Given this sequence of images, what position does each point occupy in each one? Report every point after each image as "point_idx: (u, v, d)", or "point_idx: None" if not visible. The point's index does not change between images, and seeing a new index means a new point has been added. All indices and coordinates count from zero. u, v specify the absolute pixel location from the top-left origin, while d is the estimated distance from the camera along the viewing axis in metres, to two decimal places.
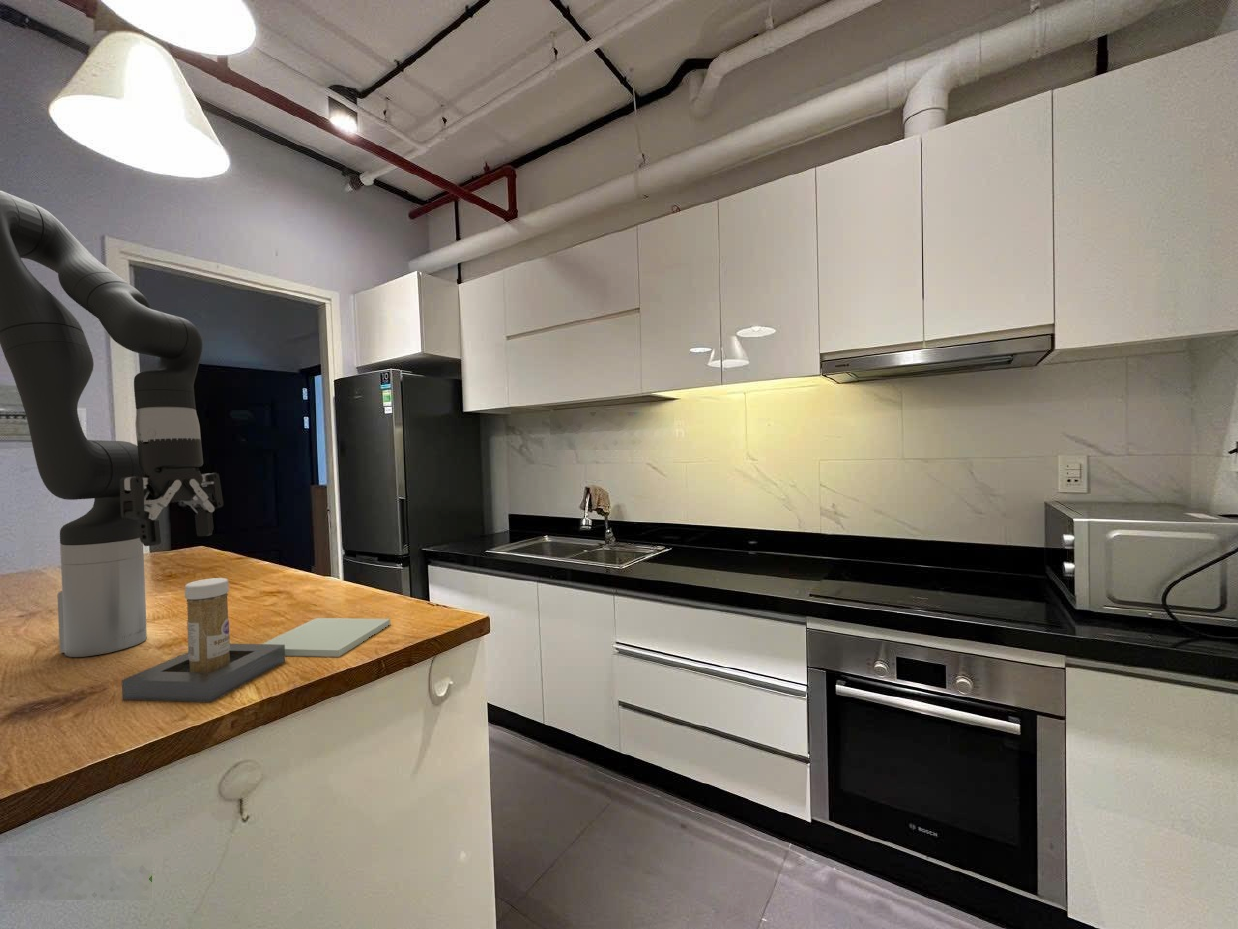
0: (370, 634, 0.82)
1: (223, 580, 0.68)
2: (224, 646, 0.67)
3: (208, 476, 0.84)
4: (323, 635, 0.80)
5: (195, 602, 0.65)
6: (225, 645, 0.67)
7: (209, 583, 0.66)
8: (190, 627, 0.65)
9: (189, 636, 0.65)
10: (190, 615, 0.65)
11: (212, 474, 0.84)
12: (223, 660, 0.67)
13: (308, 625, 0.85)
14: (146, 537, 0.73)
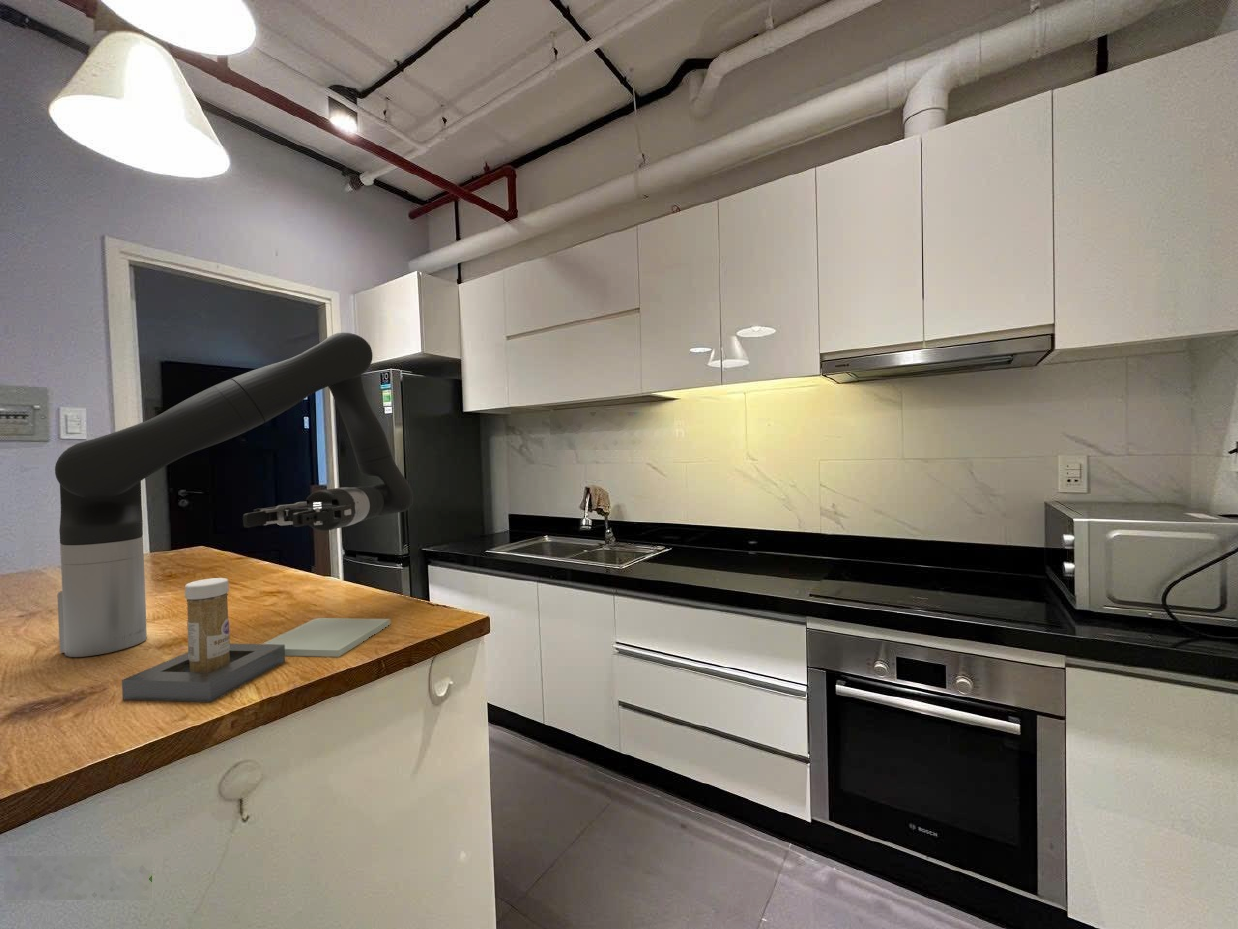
0: (370, 634, 0.82)
1: (223, 580, 0.68)
2: (224, 646, 0.67)
3: None
4: (323, 635, 0.80)
5: (195, 602, 0.65)
6: (225, 645, 0.67)
7: (209, 583, 0.66)
8: (190, 627, 0.65)
9: (189, 636, 0.65)
10: (190, 615, 0.65)
11: (285, 517, 0.89)
12: (223, 660, 0.67)
13: (308, 625, 0.85)
14: (307, 520, 0.79)
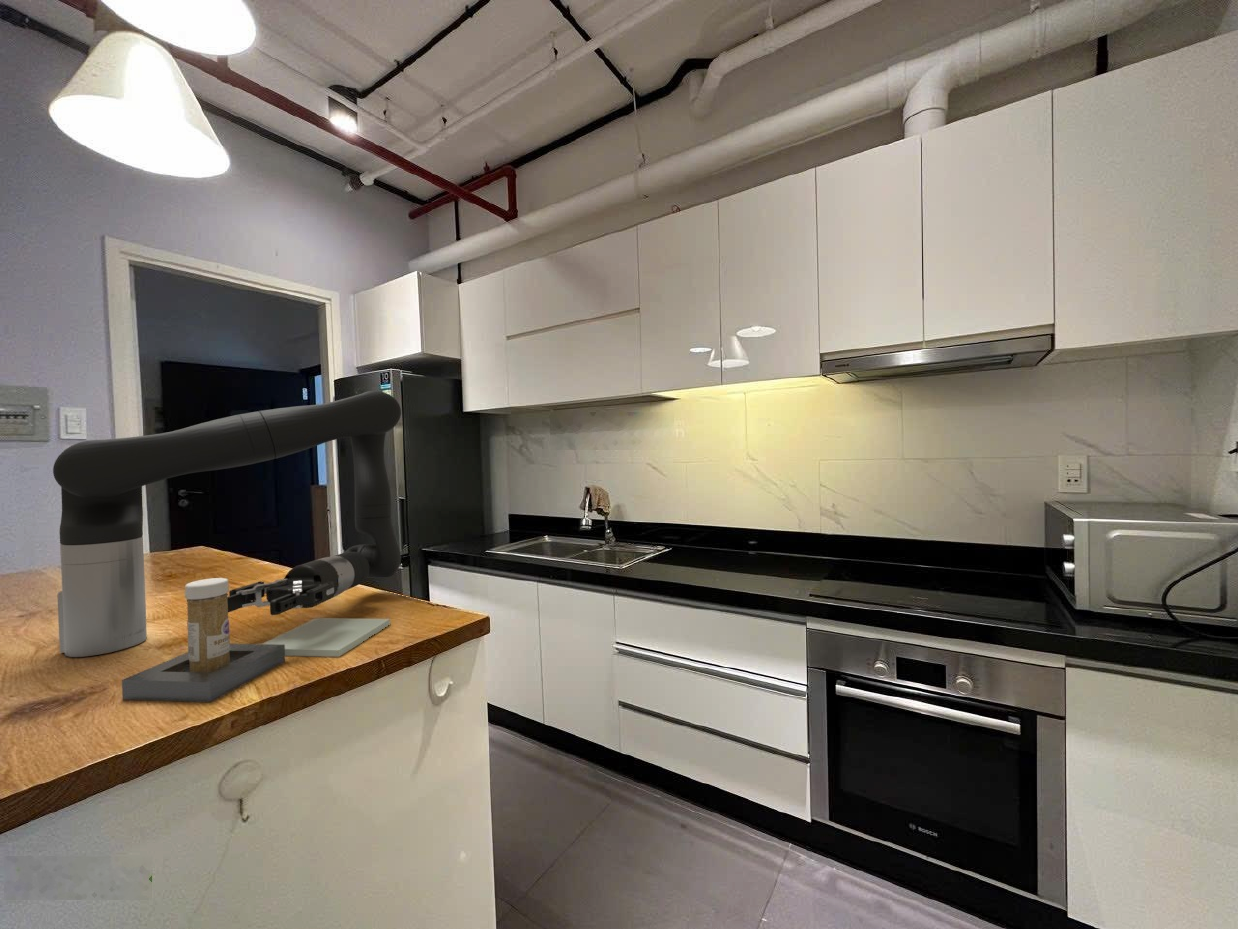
0: (370, 634, 0.82)
1: (223, 580, 0.68)
2: (225, 646, 0.67)
3: None
4: (323, 635, 0.80)
5: (195, 602, 0.65)
6: (225, 645, 0.67)
7: (209, 583, 0.66)
8: (190, 627, 0.65)
9: (189, 636, 0.65)
10: (190, 615, 0.65)
11: (264, 594, 0.84)
12: (223, 660, 0.67)
13: (308, 625, 0.85)
14: (285, 607, 0.74)
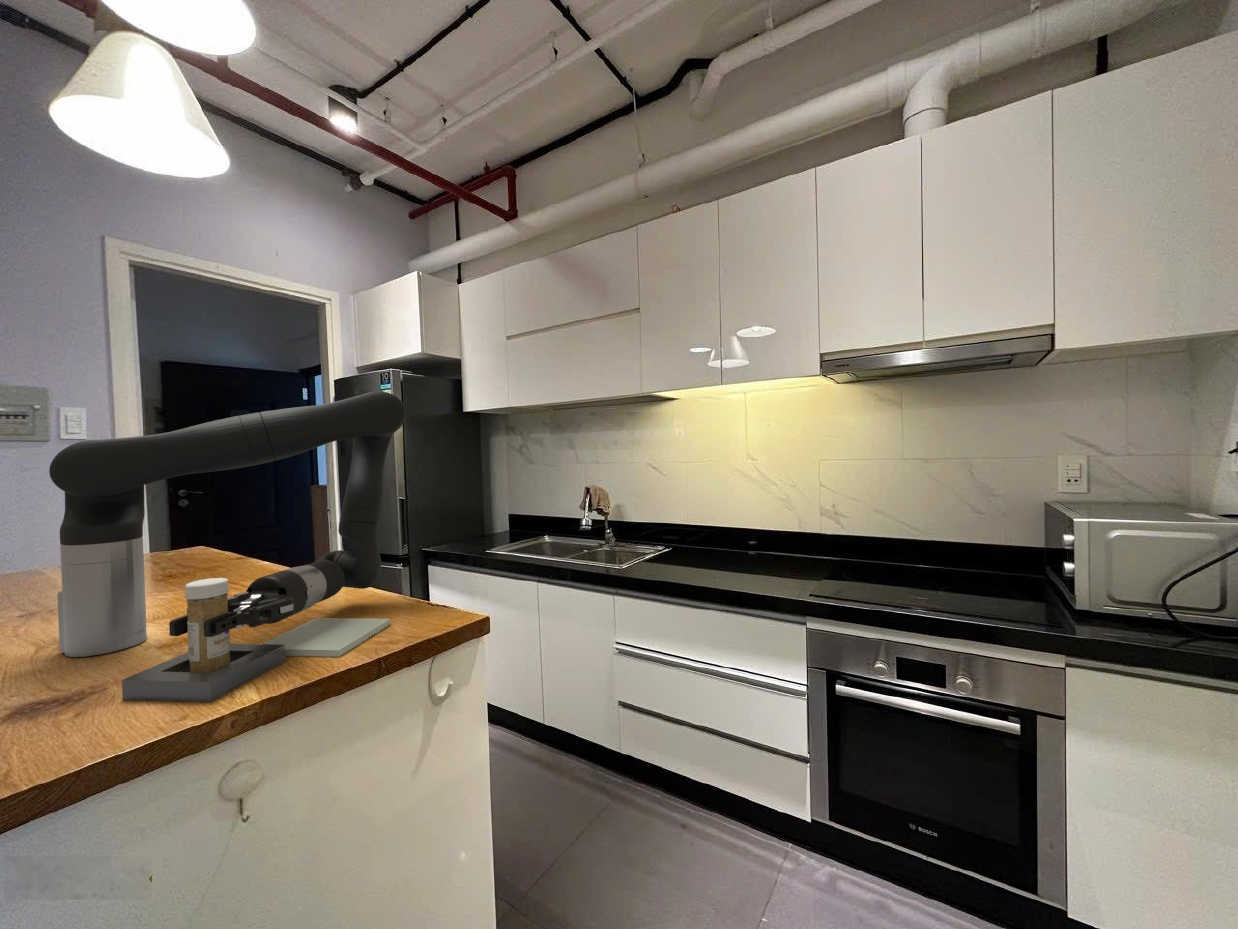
0: (370, 634, 0.82)
1: (223, 580, 0.68)
2: (225, 646, 0.67)
3: None
4: (323, 635, 0.80)
5: (195, 602, 0.65)
6: (225, 645, 0.67)
7: (209, 583, 0.66)
8: (190, 627, 0.65)
9: (189, 636, 0.65)
10: (190, 615, 0.65)
11: None
12: (223, 660, 0.67)
13: (308, 625, 0.85)
14: (222, 628, 0.65)
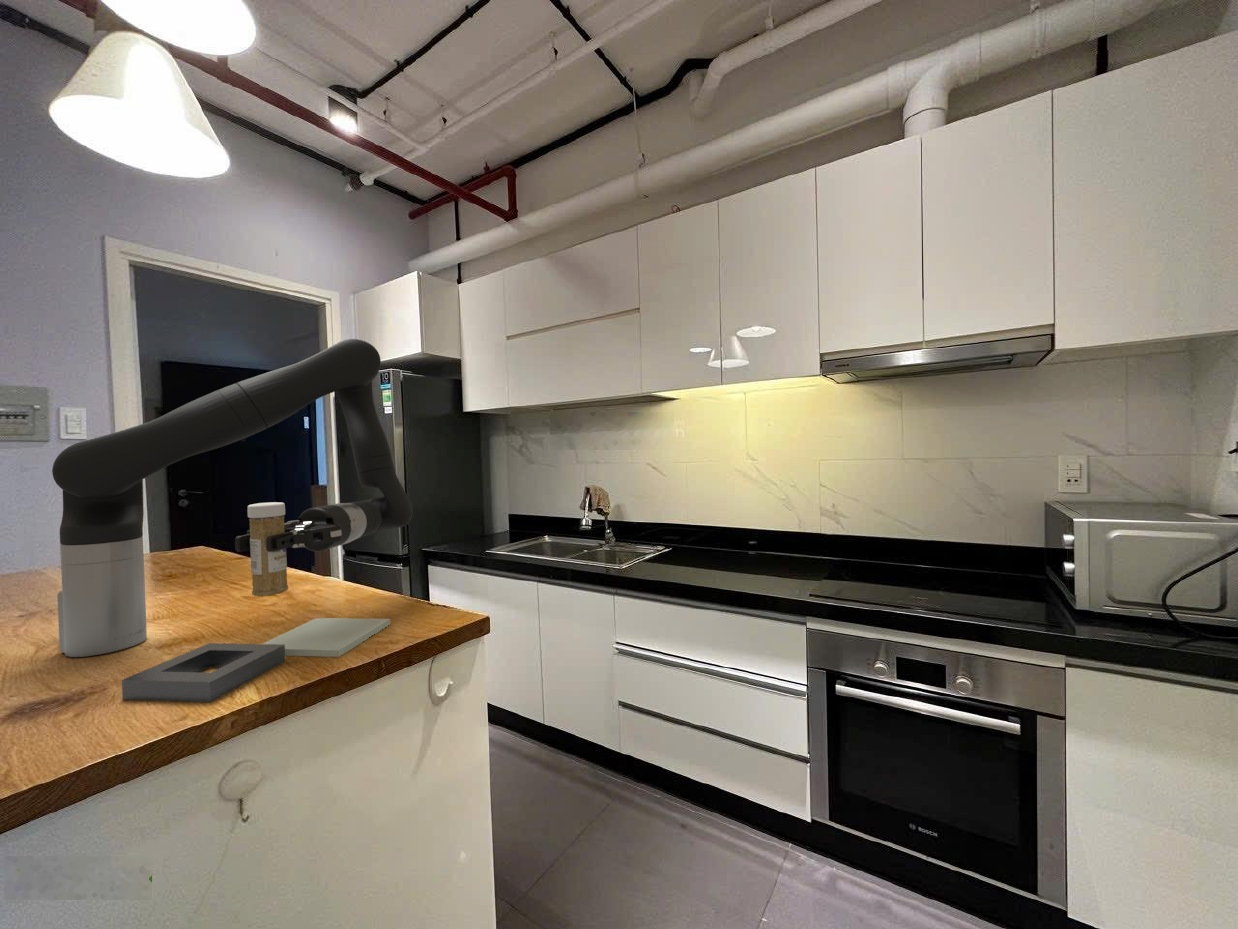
0: (370, 634, 0.82)
1: (280, 503, 0.74)
2: (283, 563, 0.74)
3: None
4: (323, 635, 0.80)
5: (258, 520, 0.71)
6: (283, 562, 0.74)
7: (269, 504, 0.72)
8: (253, 543, 0.72)
9: (252, 551, 0.72)
10: (253, 532, 0.72)
11: None
12: (282, 575, 0.74)
13: (308, 625, 0.85)
14: (282, 544, 0.72)
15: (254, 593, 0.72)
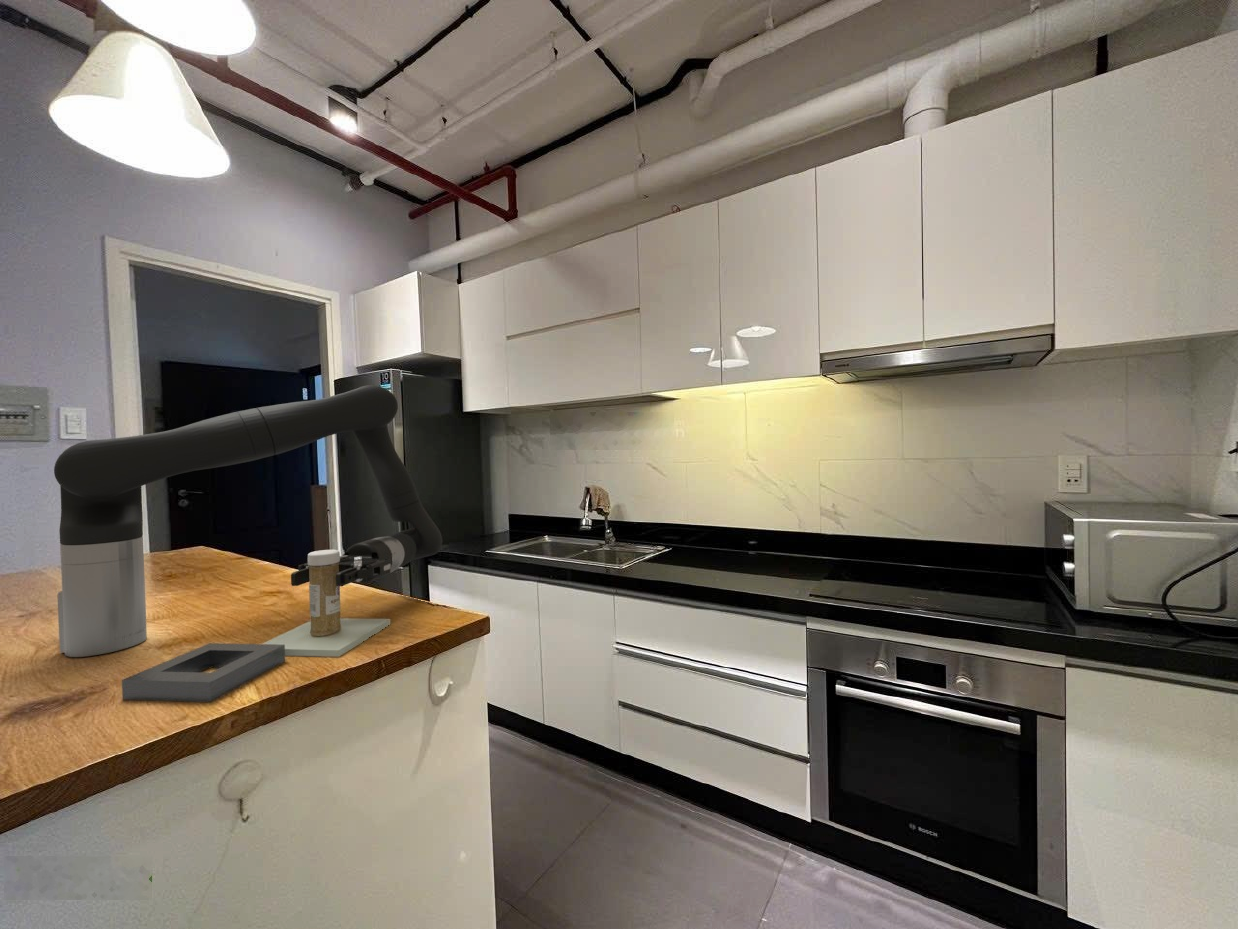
0: (370, 634, 0.82)
1: (336, 551, 0.82)
2: (337, 605, 0.82)
3: None
4: None
5: (317, 568, 0.79)
6: (338, 604, 0.82)
7: (327, 553, 0.80)
8: (312, 588, 0.80)
9: (311, 596, 0.80)
10: (312, 578, 0.80)
11: None
12: (336, 616, 0.81)
13: (308, 625, 0.85)
14: (349, 580, 0.80)
15: (312, 633, 0.80)
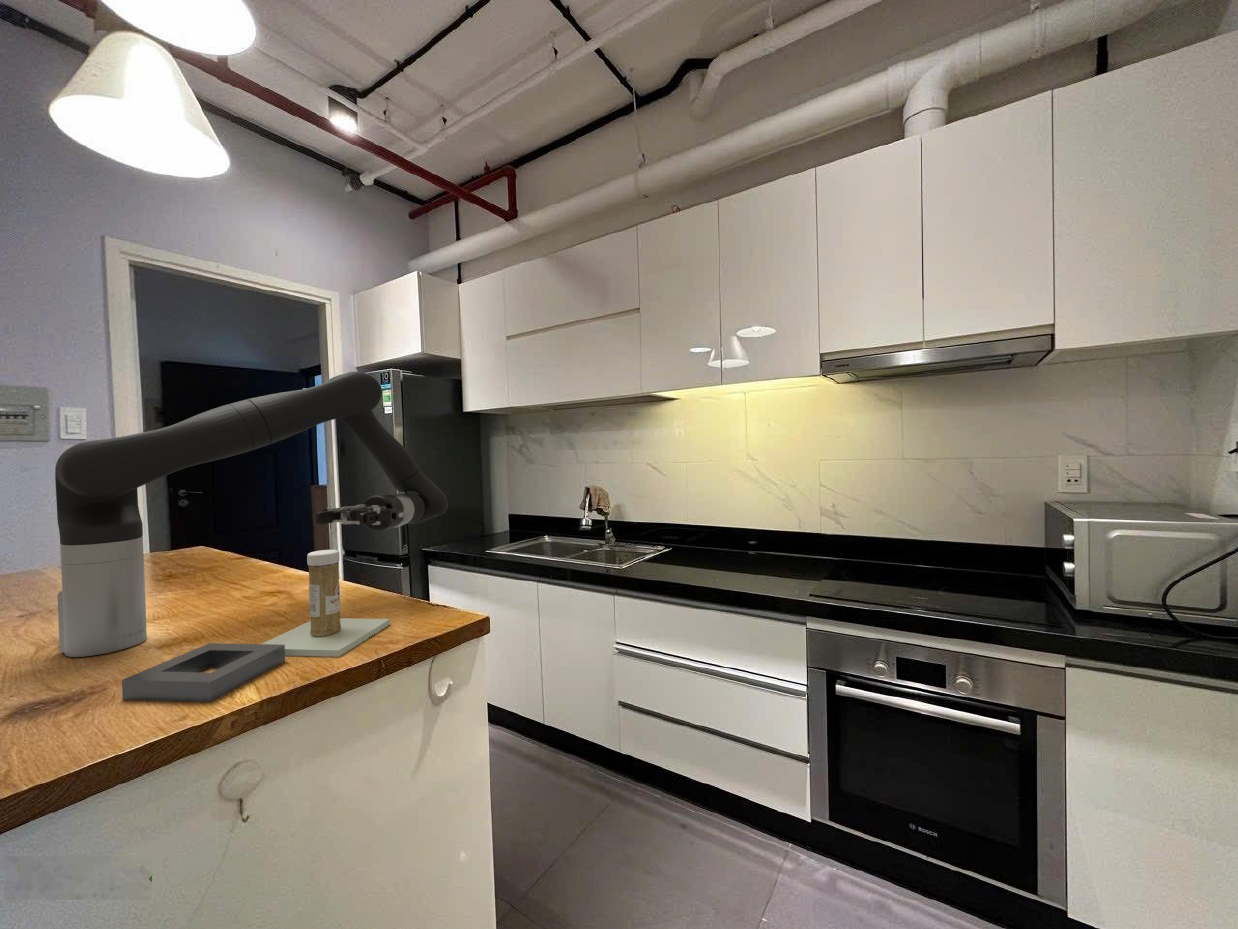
0: (370, 634, 0.82)
1: (336, 551, 0.82)
2: (337, 605, 0.82)
3: None
4: None
5: (317, 568, 0.79)
6: (338, 604, 0.82)
7: (326, 553, 0.80)
8: (312, 588, 0.80)
9: (311, 596, 0.80)
10: (312, 578, 0.80)
11: None
12: (336, 616, 0.81)
13: (308, 625, 0.85)
14: (370, 520, 0.92)
15: (312, 633, 0.80)
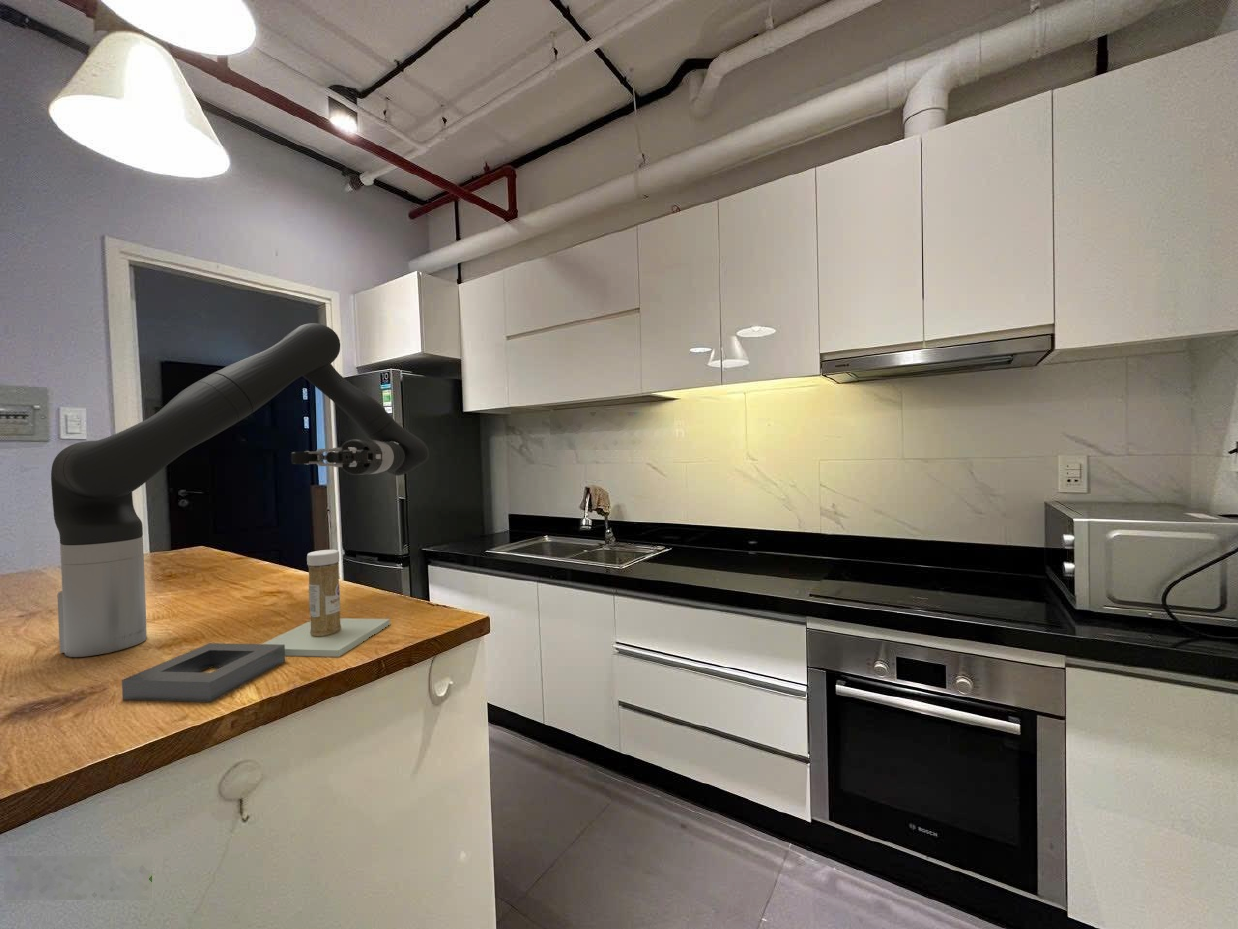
0: (370, 634, 0.82)
1: (336, 551, 0.82)
2: (337, 605, 0.82)
3: None
4: None
5: (317, 568, 0.79)
6: (338, 604, 0.82)
7: (326, 553, 0.80)
8: (312, 588, 0.80)
9: (311, 596, 0.80)
10: (312, 579, 0.80)
11: None
12: (336, 616, 0.81)
13: (308, 625, 0.85)
14: (346, 458, 0.92)
15: (312, 633, 0.80)
